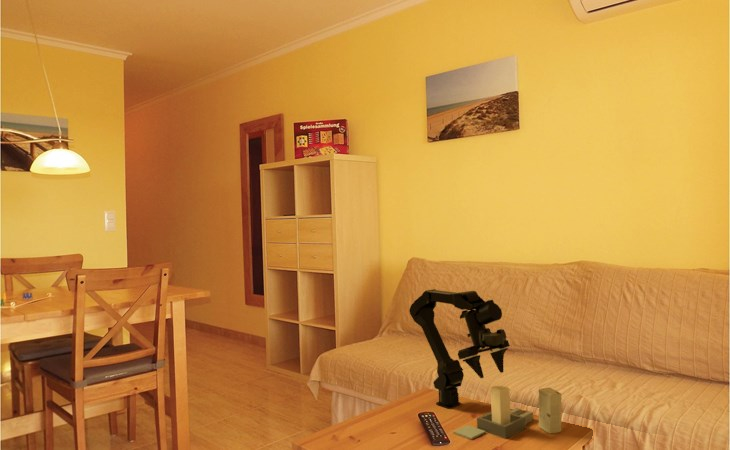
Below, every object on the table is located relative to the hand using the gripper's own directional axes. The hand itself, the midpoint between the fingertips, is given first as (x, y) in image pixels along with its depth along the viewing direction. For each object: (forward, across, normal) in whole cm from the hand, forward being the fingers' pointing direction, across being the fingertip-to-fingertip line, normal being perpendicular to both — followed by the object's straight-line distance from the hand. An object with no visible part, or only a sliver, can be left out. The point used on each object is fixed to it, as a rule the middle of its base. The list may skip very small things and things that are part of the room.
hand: (492, 375), depth 176 cm
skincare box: (+20, +9, -8) cm, 23 cm away
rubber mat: (+14, -12, +5) cm, 20 cm away
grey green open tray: (+16, +2, +1) cm, 16 cm away
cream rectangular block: (+16, -2, +1) cm, 16 cm away
